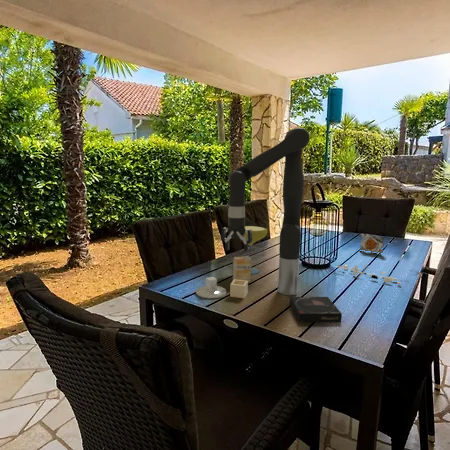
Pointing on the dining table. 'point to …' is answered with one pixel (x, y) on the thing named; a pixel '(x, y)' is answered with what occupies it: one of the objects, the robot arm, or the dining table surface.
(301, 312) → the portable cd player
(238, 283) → the collar
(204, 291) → the duct stub
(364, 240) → the meal
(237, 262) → the supplement box
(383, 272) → the miniature set
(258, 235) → the cocktail glass
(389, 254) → the dining table surface
